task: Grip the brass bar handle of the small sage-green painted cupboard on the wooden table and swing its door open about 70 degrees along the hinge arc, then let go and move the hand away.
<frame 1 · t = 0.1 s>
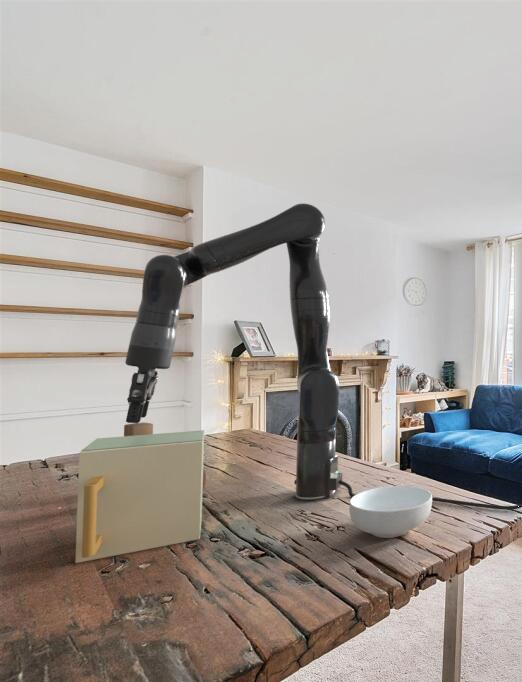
hand: (136, 419, 92), 22 cm above the table, tool pointing down, fingers open, 8 cm apart
cupboard: (146, 537, 86), on the table
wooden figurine: (189, 500, 107), on the table
cereal bowl: (391, 531, 90), on the table
wooden block: (146, 491, 113), on the table
cupboard door: (141, 502, 78), point 10 cm above the table, hinge at 0.0°
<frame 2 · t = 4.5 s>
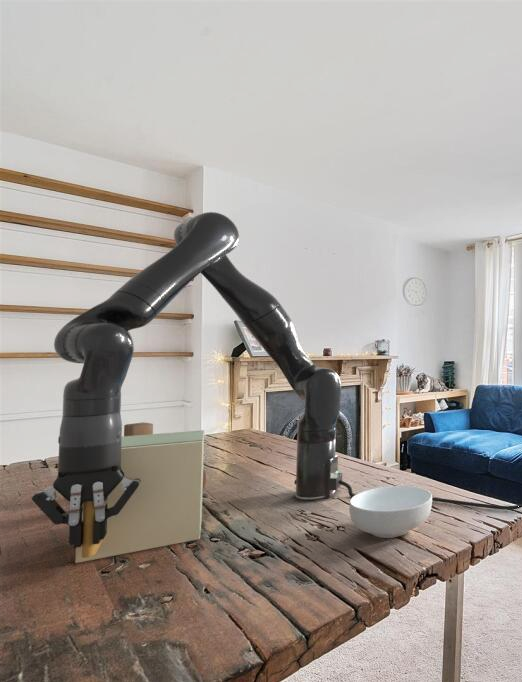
hand: (87, 543, 72), 5 cm above the table, tool pointing down, fingers closed on cupboard door
cupboard door: (141, 502, 78), point 10 cm above the table, hinge at 0.0°, touching gripper
everything else where it was.
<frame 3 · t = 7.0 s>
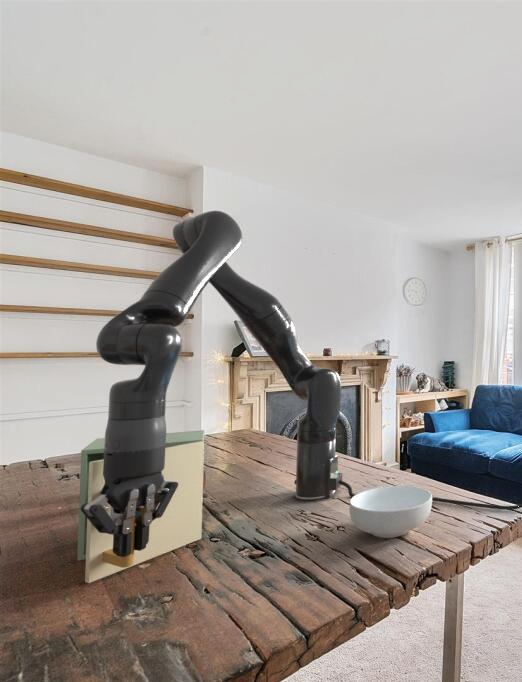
hand: (130, 552, 69), 5 cm above the table, tool pointing down, fingers closed on cupboard door
cupboard door: (161, 506, 76), point 10 cm above the table, hinge at 35.0°, touching gripper
everything else where it was.
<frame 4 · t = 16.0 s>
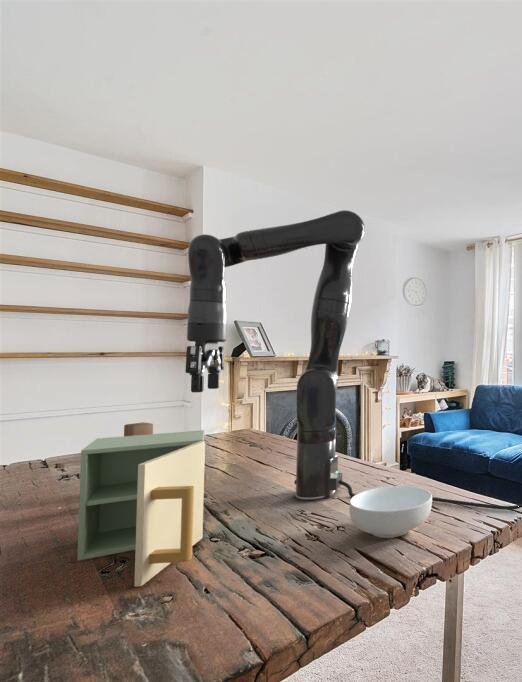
hand: (205, 390, 100), 28 cm above the table, tool pointing down, fingers open, 8 cm apart
cupboard door: (191, 504, 77), point 10 cm above the table, hinge at 64.7°
everything else where it was.
at the end: cupboard door at +65° (first picture: +0°) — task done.
